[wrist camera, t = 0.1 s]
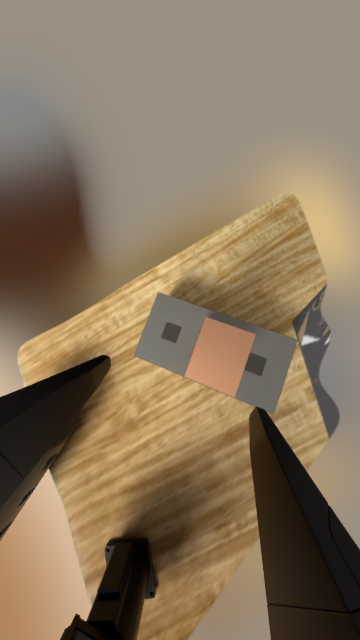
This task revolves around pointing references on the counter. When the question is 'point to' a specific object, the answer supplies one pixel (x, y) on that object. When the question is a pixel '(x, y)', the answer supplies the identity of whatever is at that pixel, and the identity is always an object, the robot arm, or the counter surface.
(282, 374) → the socket block
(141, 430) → the counter surface
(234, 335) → the plug
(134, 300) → the counter surface
